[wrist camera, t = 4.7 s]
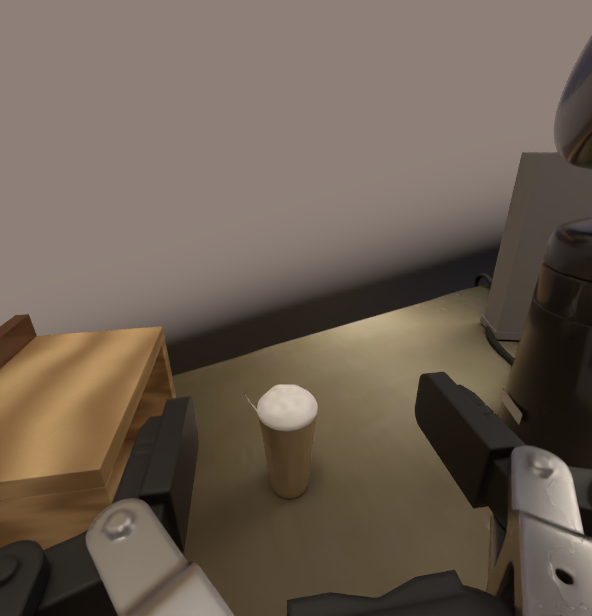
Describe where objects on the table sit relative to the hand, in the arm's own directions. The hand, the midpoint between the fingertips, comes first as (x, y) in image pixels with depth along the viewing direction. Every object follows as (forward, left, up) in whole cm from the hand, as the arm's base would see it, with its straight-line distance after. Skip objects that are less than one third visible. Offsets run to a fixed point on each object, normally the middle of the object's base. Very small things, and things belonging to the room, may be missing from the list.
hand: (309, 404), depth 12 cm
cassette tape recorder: (-50, +11, -18) cm, 54 cm away
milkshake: (-9, -7, -18) cm, 21 cm away
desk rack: (+1, -19, -18) cm, 26 cm away
